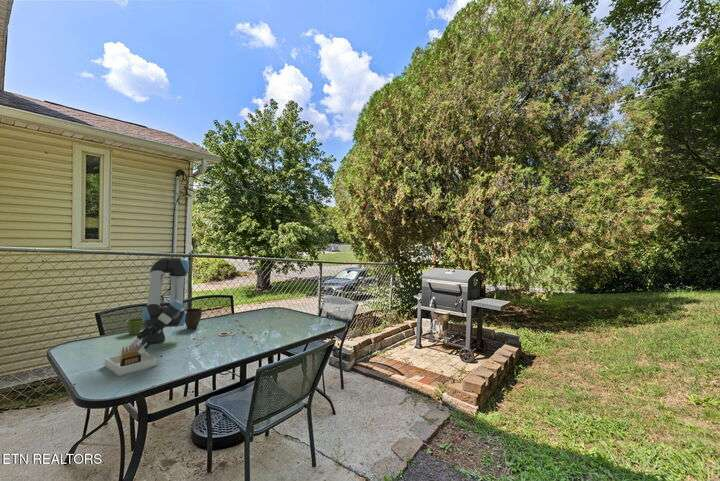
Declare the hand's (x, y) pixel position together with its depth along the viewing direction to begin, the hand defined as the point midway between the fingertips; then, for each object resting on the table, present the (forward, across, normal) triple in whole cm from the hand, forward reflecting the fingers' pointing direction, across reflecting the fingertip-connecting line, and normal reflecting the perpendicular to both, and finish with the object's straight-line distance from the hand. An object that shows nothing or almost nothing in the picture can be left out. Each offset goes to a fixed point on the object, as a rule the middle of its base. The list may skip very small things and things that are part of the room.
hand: (134, 350), depth 196 cm
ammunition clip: (+7, 0, -5) cm, 9 cm away
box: (+8, 0, -6) cm, 10 cm away
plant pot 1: (-10, +69, -26) cm, 74 cm away
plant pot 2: (-37, +54, -53) cm, 84 cm away
